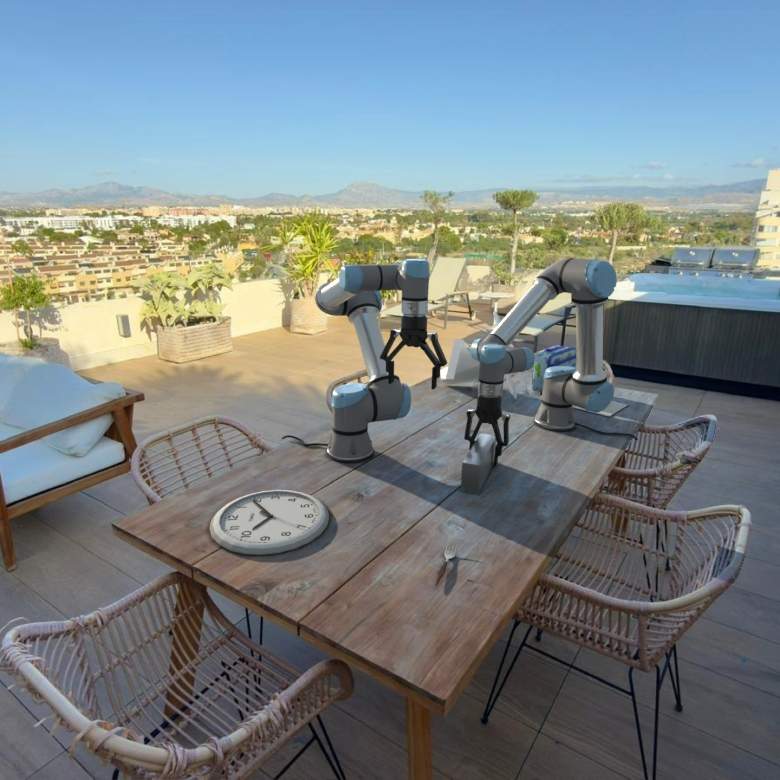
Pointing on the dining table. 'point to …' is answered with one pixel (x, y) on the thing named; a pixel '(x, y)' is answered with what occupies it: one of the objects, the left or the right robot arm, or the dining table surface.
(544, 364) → the lunch box
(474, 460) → the bar
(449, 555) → the fork
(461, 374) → the white plastic object
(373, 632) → the dining table surface
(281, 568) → the dining table surface
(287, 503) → the wall clock
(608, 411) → the invitation card
